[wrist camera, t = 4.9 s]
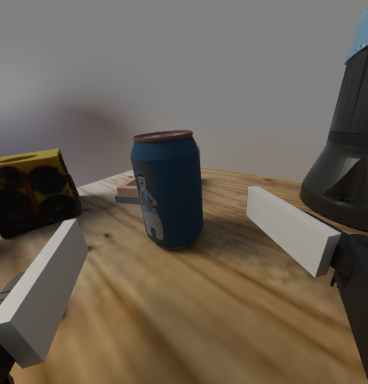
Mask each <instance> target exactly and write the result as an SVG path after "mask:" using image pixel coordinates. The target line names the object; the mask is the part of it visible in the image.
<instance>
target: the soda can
mask: <svg viewBox="0 0 368 384" xmlns="http://www.w3.org/2000/svg"><path fill="white" fill-rule="evenodd" d="M192 134H193V132H192V131H189V130H178V131H177V130H175V131H164V132H155V133H148V134H142V135H137V136H134V137H133V140H134V145H133V149H132V152H131V162H132V167H133V171H134V176H135V181H136V186H137V190H138V195H139V200H140V204H141V209H142V214H143V218H144V223H145V228H146V232H147V235H148V237H149V238H150V239H151V240H152V241H153V242H155V243H156V244H157V245H158V246H160V247H162V248H165V249H181V248H184V247H186V246H188V245H190V244H192V243H193V242H194V241H195V240H196V238H197V237H198V235H199V234H200V232H201V231H202V228H203V211H202V190H201V170H200V151H199V147H198V145H197V144H196V142H195V140H194V139H193V137H192Z"/></svg>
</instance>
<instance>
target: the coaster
mask: <svg viewBox="0 0 368 384" xmlns="http://www.w3.org/2000/svg"><path fill="white" fill-rule="evenodd" d="M117 190H118V194H117V195H116V196H115V199H116V202H121V203H134V204H140V200H139V195H138V190H137V186H136V181H135V177H133V178H132V179H130V180H128V181H127V182H125V183H124V184H122V185H120V186H119V187H117Z"/></svg>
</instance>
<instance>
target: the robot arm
mask: <svg viewBox="0 0 368 384" xmlns="http://www.w3.org/2000/svg"><path fill="white" fill-rule="evenodd" d="M344 64H345V65H347V66H346V70H345V74H344V77H343V81H342V85H341V89H340V93H339V97H338V101H337V104H336V108H335V112H334V116H333V119H332V124H331V127H330V131H329V135H328V139H327V143H326V146H325V148H324V150H323V151H322V153H321V154H320V156H319V157H318V159H317V160H316V162H315V163H314V165H313V166H312V168H311V170H310V171H309V173H308V174H307V176H306V177H305V179H304V180H303V183H302V187H301V191H300V198H301V200H302V201H303V203H304V204H305V205H307V206H308V207H309V208H311V209H312V210H314V211H315V212H317V213H319V214H321V215H323V216H325V217H327V218H329V219H331V220H334V221H336V222H339V223H342V224H344V225H347V226H350V227H354V228H357V229H360V230H364V231H368V9H367V10H366V12H365V13H364V14H363V16H362V18H361V19H360V21H359V23H358V26H357V29H356V32H355V35H354V39H353V42H352V45H351V49H350V52H349V55H348V56H347V57H346V59H345V63H344ZM246 216H247V217H248V218H250V219H251V220H252V221H253V222H254V223H255V224H256V225H257V226H258V227H260V228H261V229H262V230H263V231H264V232H265V233H266V234H267V235H268V236H269V237H271V238H272V239H273V240H274V241H275V242H276V243H277V244H278V245H279V246H281V247H282V248H283V249H284V250H285V251H286V252H287V253H288V254H289V255H290V256H292V257H293V258H294V259H295V260H296V261H297V262H298V263H299V264H300V265H302V266H303V267H304V268H305V269H306V270H307V271H308V272H309V273H310V274H311V275H313V276H314V277H315V278H316V277H319V276H322V275H325V274H327V272H328V269H329V266H331V267H332V268H334V269H335V272H334V275H333V278H332V280H331V286H334V283H335V282H336V283H337V288H338V289H339V292H340V295H341V298H342V301H343V304H344V307H345V311H346V314H347V317H348V320H349V323H350V326H351V329H352V332H353V336H354V339H355V342H356V345H357V348H358V351H359V354H360V357H361V360H362V364H363V367H364V370H365V373H366V376H367V379H368V236H366V235H362V234H351V235H349V234H347V233H345V232H343V231H342V230H340V229H338V228H336V227H334V226H332V225H331V224H329V223H327V222H324V221H323V220H322V219H320V218H317V217H316V216H314V215H313V214H311V213H309V212H306V211H303V210H299V209H297V208H296V207H294V206H292V205H290V204H289V203H287V202H285V201H283V200H281V199H280V198H278V197H276V196H274V195H273V194H271V193H269V192H267V191H266V190H264V189H262V188H260V187H258V186H252V187H248V200H247V213H246ZM88 250H89V249H88V246H87V244H86V241H85V239H84V236H83V234H82V231H81V229H80V226H79V224H78V222H77V219H71V220H66V221H64V222H63V223H62V224H61V226H60V227H59V228H58V230H57V231H56V232H55V234H54V235H53V236H52V238H51V239H50V240H49V241H48V243H47V244H46V245H45V247H44V248H43V249H42V251H41V252H40V253H39V255H38V256H37V257H36V259H35V260H34V261H33V263H32V264H31V265H30V267H29V268H28V269H27V271H25V272H21V273H19V274H18V275H17V276H16V277H15V278H13V279H12V280H11V281H10V282H9V283H8V284H7V285H6V286H5V288H4V289H3V290H2V291H1V292H0V384H14V380H13V378H12V376H11V375H10V374H9V372H10V371H11V369H12V367H13V365H14V363H15V361H16V362H17V364H18V365H19V366H20V367H21V368H22V369H23V368H26V367H30V366H33V365H36V364H39V363H42V362H44V361H45V359H46V356H47V354H48V351H49V349H50V346H51V343H52V341H53V338H54V336H55V333H56V331H57V328H58V326H59V323H60V321H61V318H62V316H63V313H64V311H65V308H66V306H67V303H68V301H69V298H70V296H71V293H72V291H73V288H74V286H75V283H76V281H77V278H78V276H79V273H80V271H81V268H82V266H83V263H84V261H85V258H86V255H87V253H88Z"/></svg>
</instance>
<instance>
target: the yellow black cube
mask: <svg viewBox="0 0 368 384" xmlns="http://www.w3.org/2000/svg"><path fill="white" fill-rule="evenodd" d="M78 197H79V193H78V191H77V189H76V187H75V184H74V182H73V180H72V177H71V176H70V175H69V173H68V171H67V168H66V166H65V164H64V161H63V158H62V154H61V151H60V149H59V148H58V149H52V150H46V151H40V152H32V153H25V154H19V155H13V156H6V157H0V235H1V237H2V238H7V237H11V236H15V235H18V234H21V233H24V232H27V231H30V230H33V229H37V228H40V227H43V226H46V225H49V224H52V223H55V222H58V221H61V220H64V219H68V218H71V217H74V216H77V215H79V214H81V213H82V211H81V203H80V200H79V198H78Z"/></svg>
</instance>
